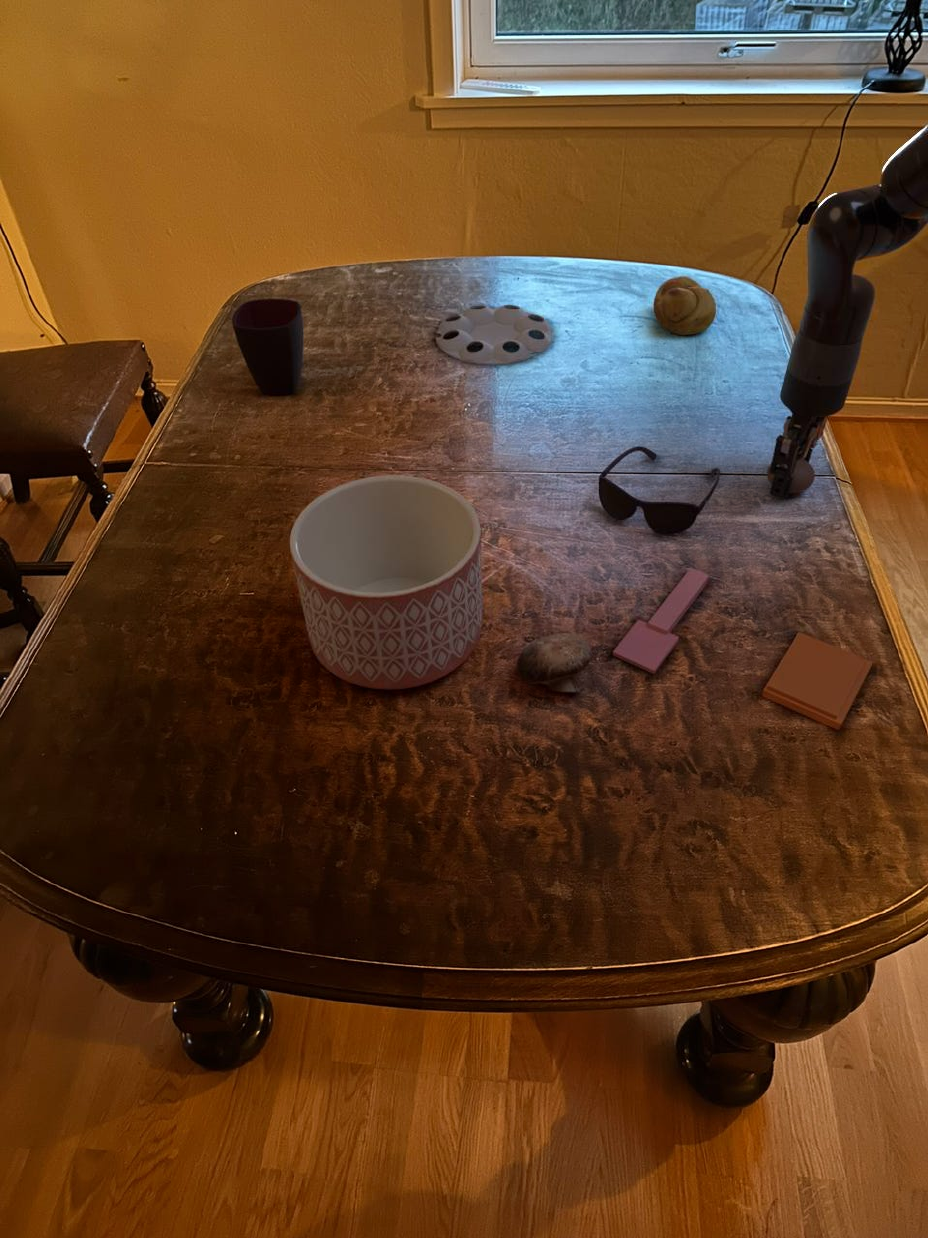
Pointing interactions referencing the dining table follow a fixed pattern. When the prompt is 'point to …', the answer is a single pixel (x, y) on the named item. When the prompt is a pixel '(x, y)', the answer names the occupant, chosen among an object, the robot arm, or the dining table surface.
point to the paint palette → (493, 334)
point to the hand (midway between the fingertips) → (788, 482)
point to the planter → (390, 580)
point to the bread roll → (684, 306)
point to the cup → (271, 343)
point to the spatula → (660, 626)
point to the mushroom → (554, 661)
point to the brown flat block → (817, 680)
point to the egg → (798, 477)
